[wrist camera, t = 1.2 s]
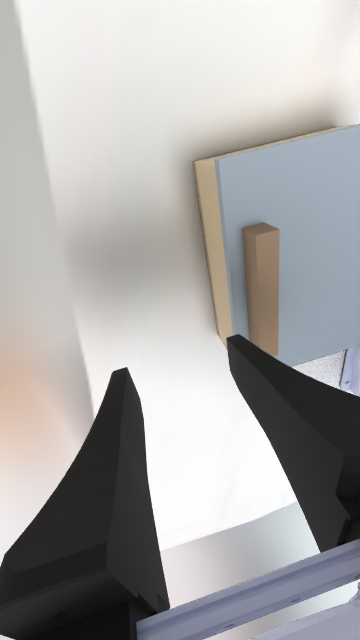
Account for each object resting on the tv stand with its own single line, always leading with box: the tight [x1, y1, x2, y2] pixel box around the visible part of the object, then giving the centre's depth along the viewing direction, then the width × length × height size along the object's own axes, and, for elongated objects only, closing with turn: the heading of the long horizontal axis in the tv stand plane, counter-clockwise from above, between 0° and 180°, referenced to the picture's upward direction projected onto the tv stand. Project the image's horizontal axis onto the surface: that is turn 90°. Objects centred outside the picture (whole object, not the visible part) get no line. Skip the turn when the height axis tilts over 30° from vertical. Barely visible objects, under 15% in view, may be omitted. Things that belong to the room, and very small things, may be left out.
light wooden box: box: [193, 125, 354, 351], centre depth 20 cm, size 14×10×5 cm
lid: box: [214, 124, 360, 367], centre depth 16 cm, size 15×11×2 cm
